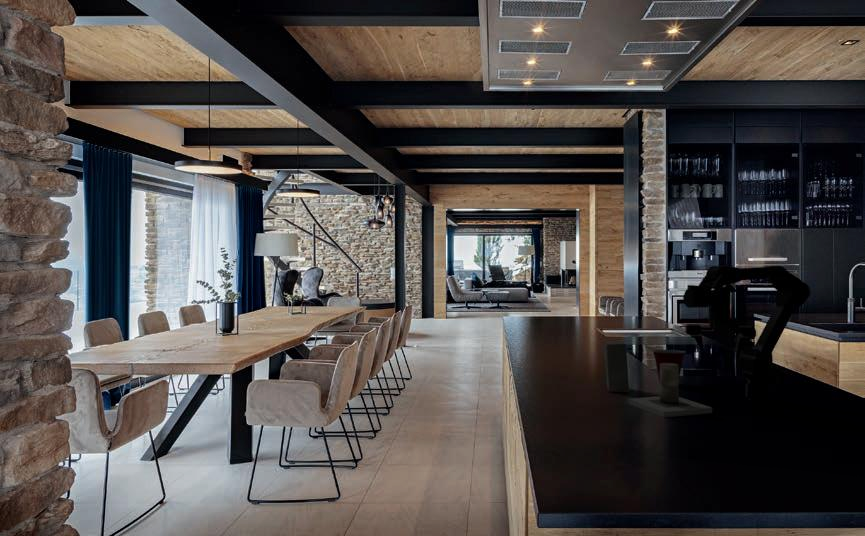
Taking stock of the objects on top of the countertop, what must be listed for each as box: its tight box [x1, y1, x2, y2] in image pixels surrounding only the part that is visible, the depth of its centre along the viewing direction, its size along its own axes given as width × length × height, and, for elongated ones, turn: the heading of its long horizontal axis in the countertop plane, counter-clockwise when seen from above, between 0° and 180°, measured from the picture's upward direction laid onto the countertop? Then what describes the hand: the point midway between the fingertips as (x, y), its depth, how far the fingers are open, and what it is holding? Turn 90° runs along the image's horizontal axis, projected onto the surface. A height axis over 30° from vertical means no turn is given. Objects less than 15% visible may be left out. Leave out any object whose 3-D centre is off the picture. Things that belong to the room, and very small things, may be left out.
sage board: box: [627, 395, 713, 418], centre depth 170 cm, size 16×16×2 cm
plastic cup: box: [651, 349, 687, 383], centre depth 203 cm, size 11×11×12 cm
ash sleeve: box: [659, 363, 680, 405], centre depth 169 cm, size 5×5×11 cm
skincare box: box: [604, 341, 630, 393], centre depth 194 cm, size 8×7×16 cm
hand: (719, 358), depth 177 cm, fingers open, 9 cm apart
